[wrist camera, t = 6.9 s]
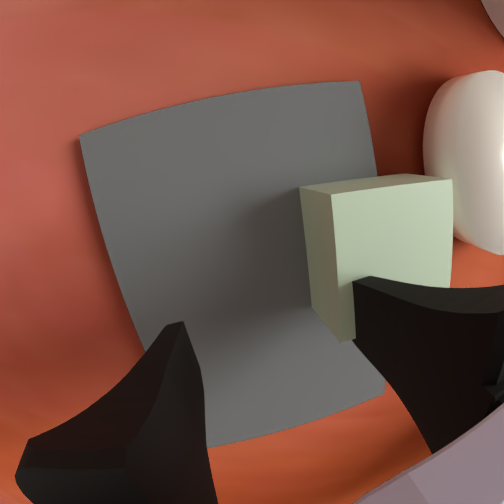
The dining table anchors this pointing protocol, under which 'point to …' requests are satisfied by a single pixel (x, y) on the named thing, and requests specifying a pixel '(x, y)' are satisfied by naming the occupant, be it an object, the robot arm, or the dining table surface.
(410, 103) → the dining table surface
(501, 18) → the coffee cup
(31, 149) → the dining table surface
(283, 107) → the mat
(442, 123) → the white shallow dome
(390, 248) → the pale green square block
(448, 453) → the robot arm
